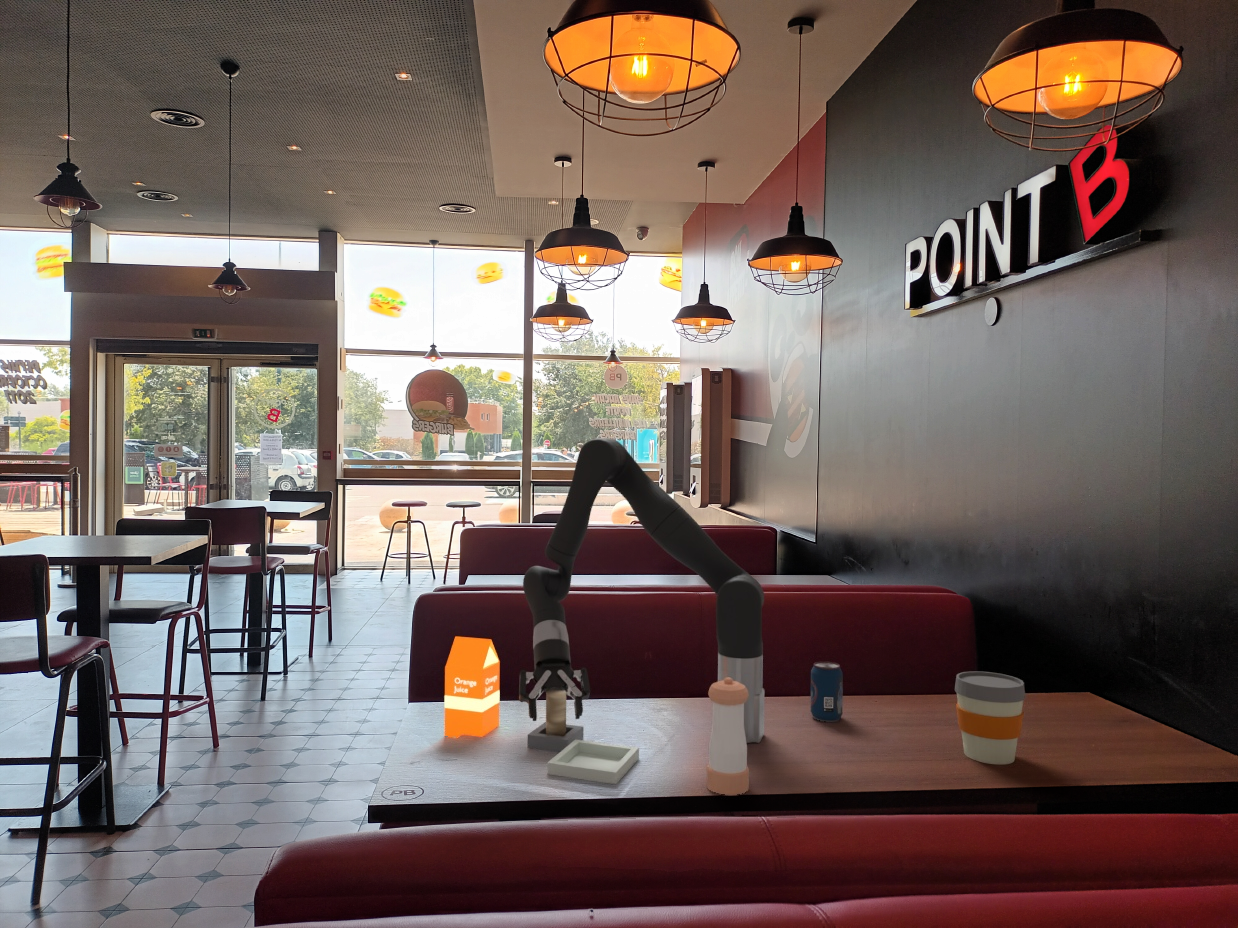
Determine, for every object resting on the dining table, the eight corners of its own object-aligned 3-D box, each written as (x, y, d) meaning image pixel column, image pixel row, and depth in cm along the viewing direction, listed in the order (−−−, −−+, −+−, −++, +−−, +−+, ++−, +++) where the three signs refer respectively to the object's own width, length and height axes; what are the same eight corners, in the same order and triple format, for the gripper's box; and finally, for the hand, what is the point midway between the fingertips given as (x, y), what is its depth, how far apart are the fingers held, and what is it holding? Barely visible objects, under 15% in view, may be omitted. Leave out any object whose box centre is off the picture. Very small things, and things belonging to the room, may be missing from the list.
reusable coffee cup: (940, 749, 159) (940, 674, 159) (986, 741, 164) (986, 668, 164) (992, 771, 147) (992, 690, 147) (1040, 762, 152) (1040, 684, 152)
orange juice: (481, 741, 161) (482, 643, 161) (443, 736, 164) (444, 639, 164) (499, 729, 169) (500, 635, 169) (463, 725, 172) (463, 632, 172)
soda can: (809, 712, 182) (809, 660, 182) (840, 713, 181) (840, 661, 181) (812, 721, 176) (812, 667, 176) (844, 723, 175) (844, 668, 175)
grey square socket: (583, 743, 160) (583, 726, 161) (566, 757, 153) (567, 739, 153) (545, 738, 163) (545, 721, 163) (527, 752, 155) (527, 734, 155)
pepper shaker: (702, 791, 137) (702, 680, 137) (712, 776, 144) (713, 670, 144) (743, 798, 135) (744, 685, 135) (752, 782, 141) (753, 674, 142)
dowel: (569, 740, 159) (569, 691, 159) (560, 747, 155) (561, 696, 155) (550, 738, 160) (551, 688, 160) (542, 744, 157) (542, 694, 157)
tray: (638, 763, 150) (639, 747, 150) (615, 789, 138) (615, 772, 138) (575, 754, 154) (575, 739, 154) (547, 779, 142) (547, 762, 142)
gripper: (518, 638, 164) (521, 710, 153) (586, 636, 167) (594, 707, 156) (516, 657, 169) (519, 729, 158) (582, 655, 172) (590, 725, 161)
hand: (556, 718), depth 157 cm, fingers open, 8 cm apart
